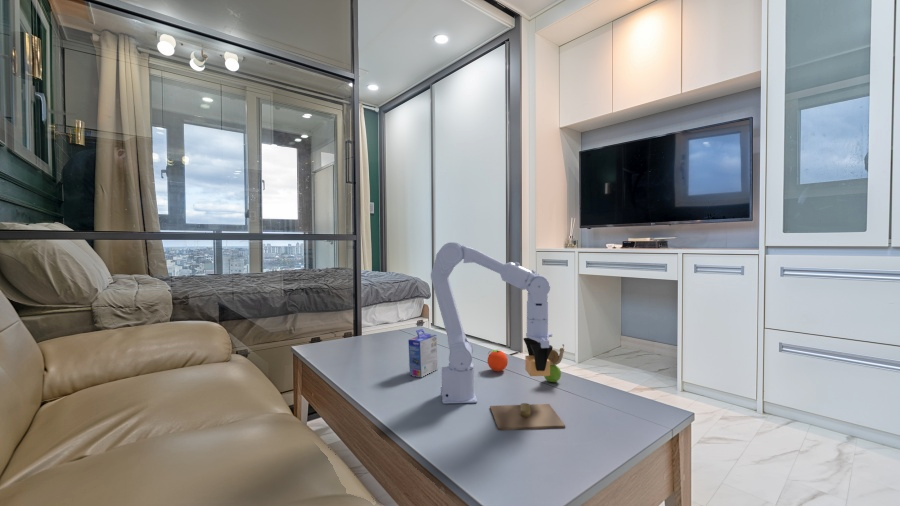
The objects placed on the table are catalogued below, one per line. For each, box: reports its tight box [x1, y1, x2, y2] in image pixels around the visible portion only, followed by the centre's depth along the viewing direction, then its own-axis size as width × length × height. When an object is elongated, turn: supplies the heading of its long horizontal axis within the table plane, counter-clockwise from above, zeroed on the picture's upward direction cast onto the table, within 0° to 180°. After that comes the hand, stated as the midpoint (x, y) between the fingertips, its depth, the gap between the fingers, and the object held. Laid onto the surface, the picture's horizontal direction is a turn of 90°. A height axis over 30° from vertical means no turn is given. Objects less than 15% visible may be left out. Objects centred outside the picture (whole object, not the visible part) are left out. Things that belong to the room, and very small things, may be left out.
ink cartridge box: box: [407, 328, 439, 378], centre depth 128 cm, size 10×6×14 cm, turn 148°
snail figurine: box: [543, 343, 565, 383], centre depth 118 cm, size 5×6×12 cm
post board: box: [489, 402, 566, 431], centre depth 95 cm, size 16×12×3 cm
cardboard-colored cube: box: [524, 355, 550, 377], centre depth 105 cm, size 5×5×4 cm
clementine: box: [487, 349, 509, 372], centre depth 130 cm, size 8×7×7 cm
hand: (537, 366), depth 105 cm, fingers closed on cardboard-colored cube, 5 cm apart
